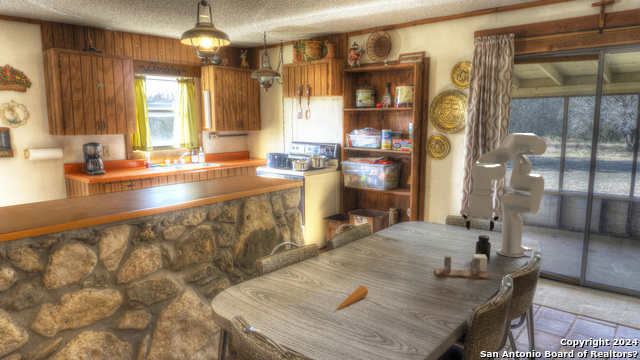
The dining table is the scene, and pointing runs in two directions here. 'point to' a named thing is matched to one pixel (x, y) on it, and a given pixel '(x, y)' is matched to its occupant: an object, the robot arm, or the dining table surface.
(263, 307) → the dining table surface
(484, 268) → the cream rectangular block
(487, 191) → the robot arm
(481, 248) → the supplement bottle
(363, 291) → the carrot
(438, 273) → the post strip
